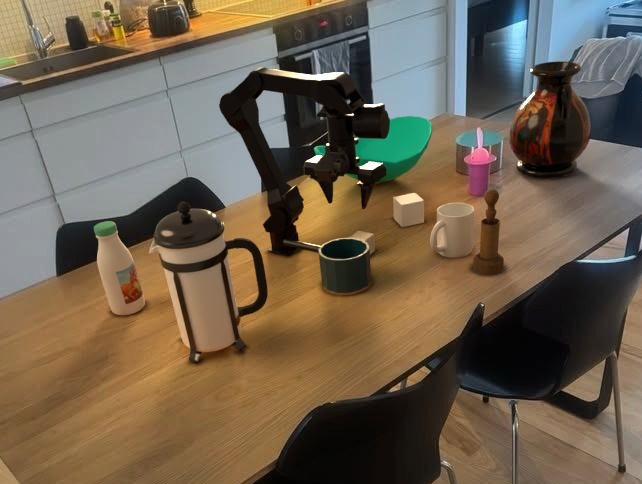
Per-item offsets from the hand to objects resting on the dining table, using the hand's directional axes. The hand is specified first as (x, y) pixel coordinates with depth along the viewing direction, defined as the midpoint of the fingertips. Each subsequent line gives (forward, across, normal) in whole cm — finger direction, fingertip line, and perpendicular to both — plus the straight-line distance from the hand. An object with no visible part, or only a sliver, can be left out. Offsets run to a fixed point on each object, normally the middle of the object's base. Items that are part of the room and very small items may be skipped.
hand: (347, 205), depth 156 cm
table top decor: (+13, -21, +47) cm, 53 cm away
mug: (+13, +20, +11) cm, 27 cm away
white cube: (+13, +3, +24) cm, 27 cm away
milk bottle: (+13, -33, -42) cm, 55 cm away
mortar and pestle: (+13, +31, +8) cm, 35 cm away
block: (+13, +1, +3) cm, 13 cm away
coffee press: (+13, -4, -43) cm, 45 cm away
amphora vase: (+13, +22, +70) cm, 74 cm away
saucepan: (+13, +1, -12) cm, 17 cm away
